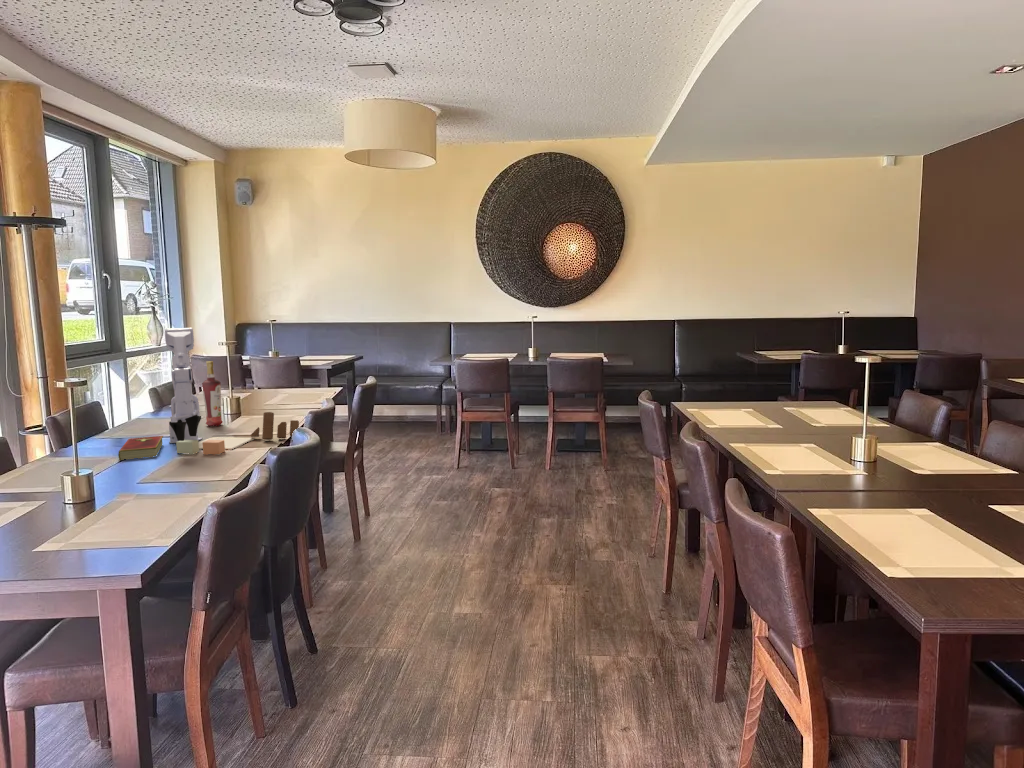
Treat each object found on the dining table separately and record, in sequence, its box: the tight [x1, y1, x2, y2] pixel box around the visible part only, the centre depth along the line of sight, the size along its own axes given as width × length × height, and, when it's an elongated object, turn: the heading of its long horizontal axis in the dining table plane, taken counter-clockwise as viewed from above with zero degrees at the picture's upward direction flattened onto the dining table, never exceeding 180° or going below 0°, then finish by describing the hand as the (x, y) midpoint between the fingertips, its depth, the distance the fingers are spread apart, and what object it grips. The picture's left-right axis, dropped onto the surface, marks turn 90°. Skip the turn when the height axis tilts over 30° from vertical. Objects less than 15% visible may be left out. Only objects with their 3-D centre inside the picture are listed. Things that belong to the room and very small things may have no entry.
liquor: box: [201, 360, 224, 427], centre depth 298 cm, size 7×7×28 cm
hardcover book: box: [117, 435, 164, 461], centre depth 252 cm, size 12×21×4 cm, turn 21°
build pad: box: [198, 436, 256, 451], centre depth 264 cm, size 18×18×1 cm
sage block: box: [175, 440, 200, 455], centre depth 250 cm, size 6×4×4 cm, turn 84°
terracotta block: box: [202, 440, 226, 455], centre depth 249 cm, size 6×4×4 cm, turn 84°
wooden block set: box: [249, 411, 300, 441], centre depth 271 cm, size 18×9×10 cm, turn 103°
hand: (187, 438), depth 250 cm, fingers open, 7 cm apart
